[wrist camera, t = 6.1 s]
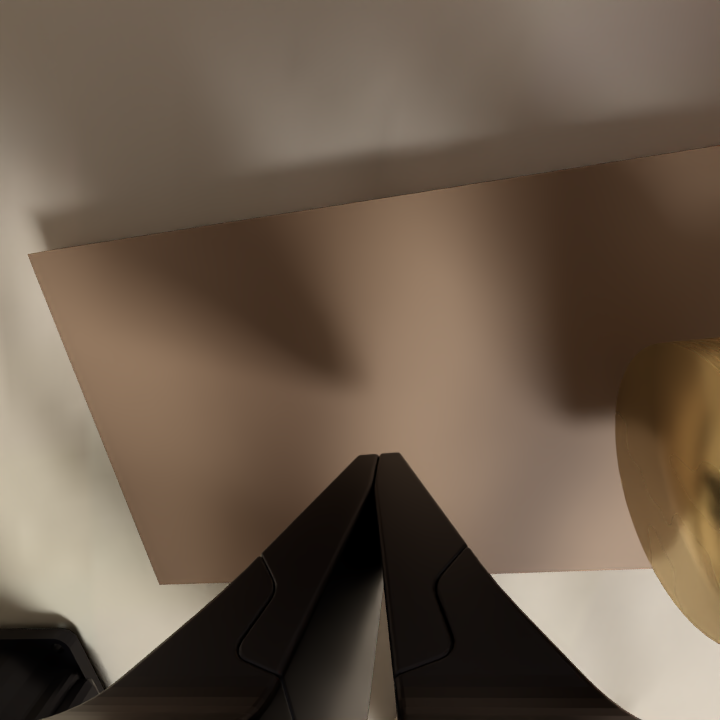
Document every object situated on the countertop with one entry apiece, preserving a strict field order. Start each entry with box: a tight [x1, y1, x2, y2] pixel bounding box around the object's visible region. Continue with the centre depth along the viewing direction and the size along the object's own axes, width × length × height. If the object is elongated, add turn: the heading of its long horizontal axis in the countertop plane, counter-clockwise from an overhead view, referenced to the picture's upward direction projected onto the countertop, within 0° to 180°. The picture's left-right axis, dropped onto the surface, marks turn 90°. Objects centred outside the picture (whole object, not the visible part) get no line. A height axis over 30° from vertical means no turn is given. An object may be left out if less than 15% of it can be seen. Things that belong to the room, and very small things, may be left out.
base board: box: [28, 145, 720, 585], centre depth 11 cm, size 22×10×1 cm, turn 99°
